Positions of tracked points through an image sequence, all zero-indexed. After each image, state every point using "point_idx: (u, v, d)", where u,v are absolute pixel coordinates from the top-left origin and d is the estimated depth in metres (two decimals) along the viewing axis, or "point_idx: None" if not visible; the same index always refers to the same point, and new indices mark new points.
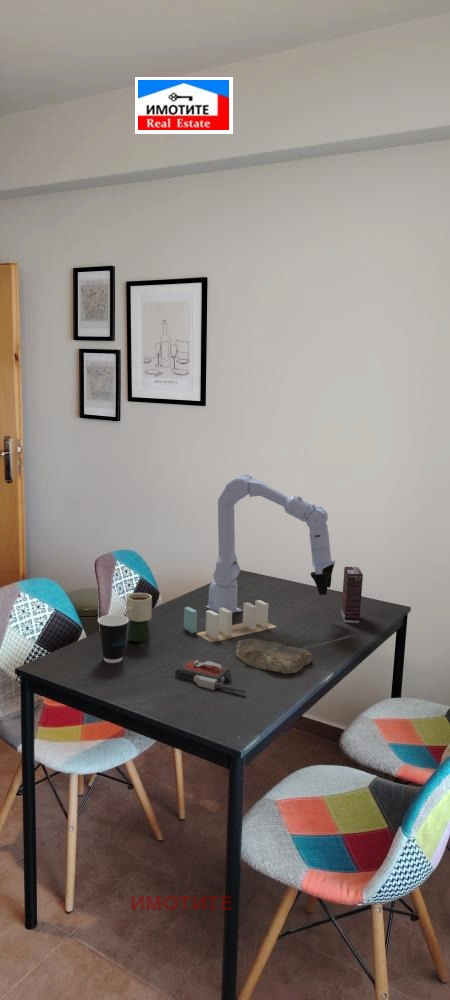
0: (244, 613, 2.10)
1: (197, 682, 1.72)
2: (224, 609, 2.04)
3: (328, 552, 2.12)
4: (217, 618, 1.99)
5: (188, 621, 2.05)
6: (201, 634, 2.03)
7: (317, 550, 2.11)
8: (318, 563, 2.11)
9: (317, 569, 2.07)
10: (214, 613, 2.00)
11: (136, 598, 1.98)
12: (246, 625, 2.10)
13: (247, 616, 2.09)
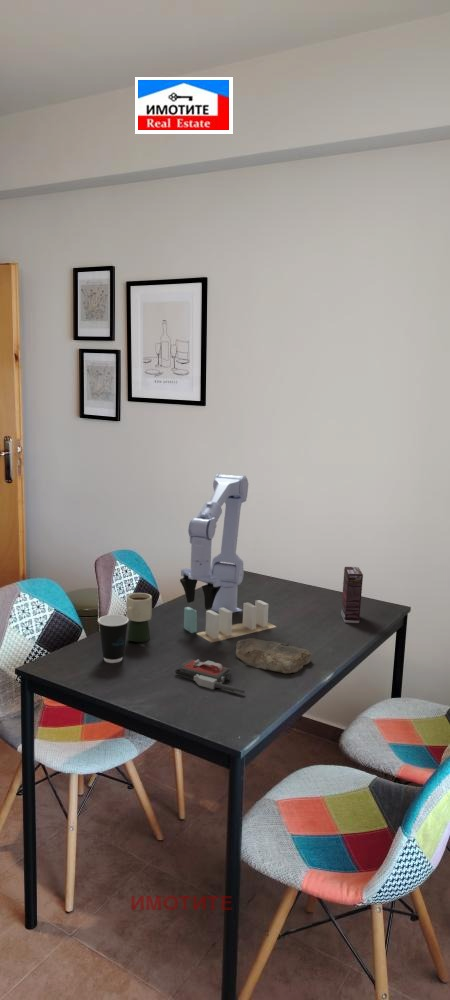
0: (244, 613, 2.10)
1: (197, 681, 1.72)
2: (224, 609, 2.04)
3: (191, 564, 2.00)
4: (217, 618, 1.99)
5: (188, 621, 2.05)
6: (201, 634, 2.03)
7: None
8: None
9: None
10: (214, 613, 2.00)
11: (136, 598, 1.98)
12: (246, 625, 2.10)
13: (247, 616, 2.09)
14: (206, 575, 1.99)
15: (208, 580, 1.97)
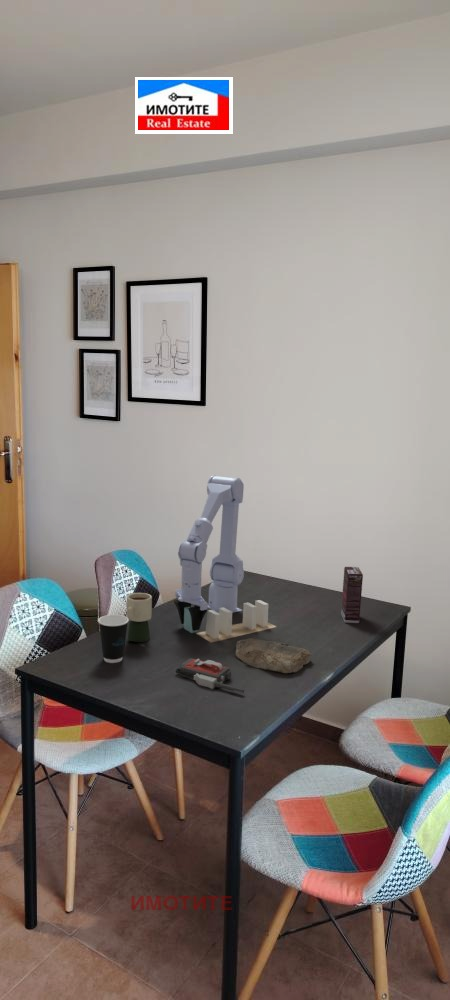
0: (244, 613, 2.10)
1: (197, 681, 1.73)
2: (224, 609, 2.04)
3: (181, 586, 2.03)
4: (218, 618, 2.00)
5: (188, 621, 2.05)
6: (201, 634, 2.03)
7: None
8: None
9: None
10: (215, 613, 2.00)
11: (136, 598, 1.98)
12: (246, 625, 2.10)
13: (247, 616, 2.09)
14: (195, 598, 2.02)
15: (195, 603, 1.99)
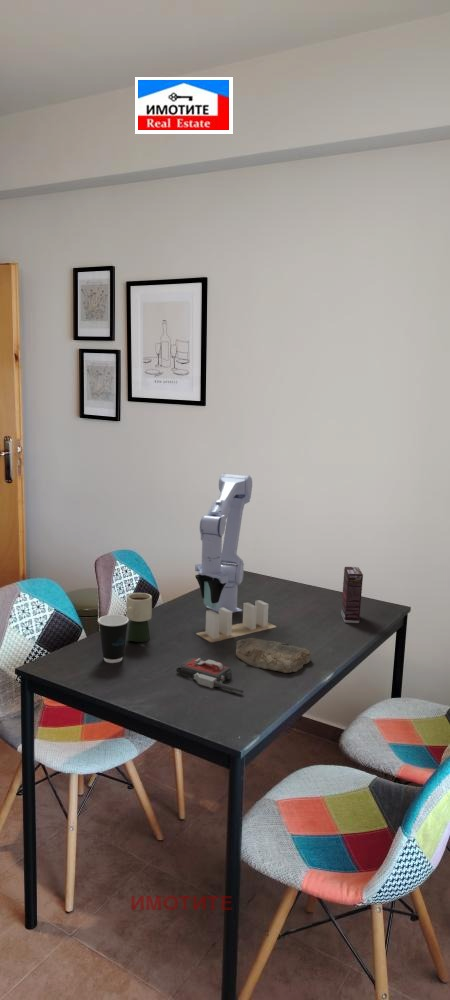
0: (244, 613, 2.10)
1: (197, 680, 1.73)
2: (224, 609, 2.04)
3: None
4: (217, 618, 1.99)
5: (208, 595, 2.07)
6: (201, 634, 2.03)
7: None
8: None
9: None
10: (214, 613, 2.00)
11: (136, 598, 1.98)
12: (246, 625, 2.10)
13: (247, 616, 2.09)
14: (215, 571, 2.04)
15: (216, 576, 2.02)
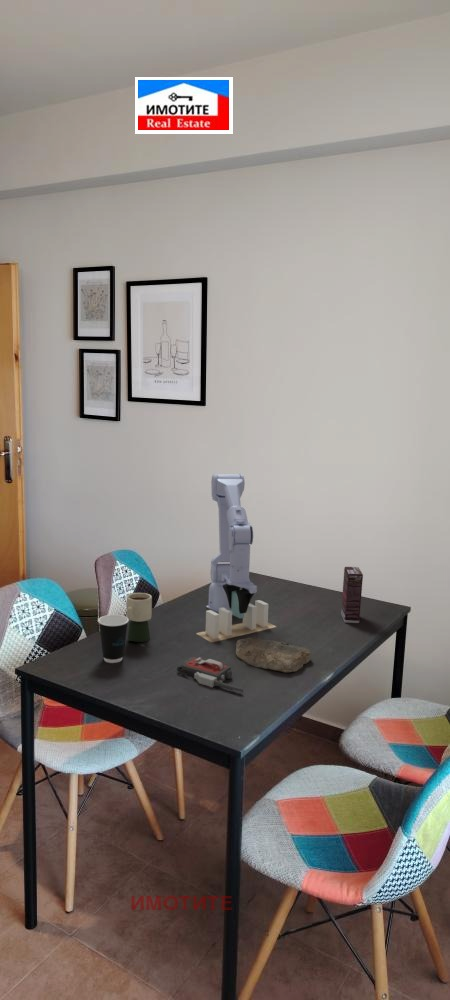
0: (244, 613, 2.10)
1: (197, 679, 1.74)
2: (224, 609, 2.04)
3: (229, 570, 2.04)
4: (217, 618, 1.99)
5: (236, 605, 2.05)
6: (201, 634, 2.03)
7: None
8: None
9: None
10: (214, 613, 2.00)
11: (136, 598, 1.98)
12: (246, 625, 2.10)
13: (247, 616, 2.09)
14: (244, 581, 2.02)
15: (245, 586, 2.00)
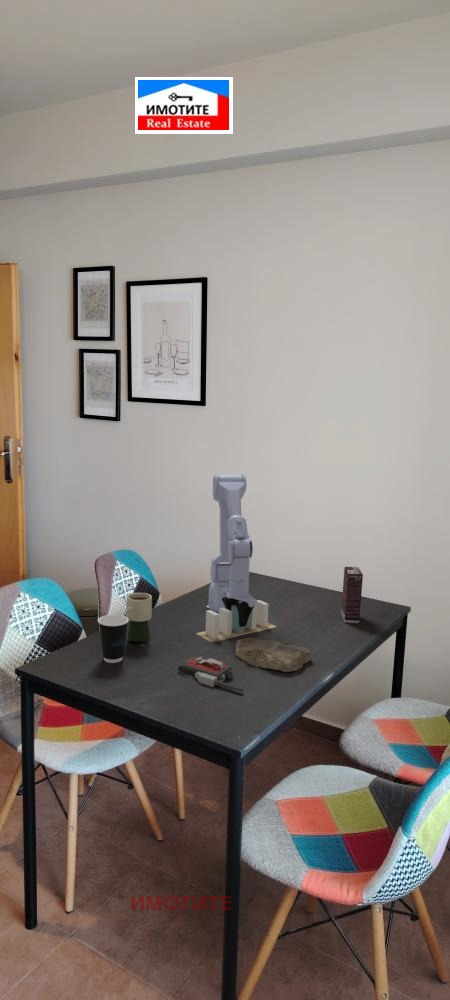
0: None
1: (198, 679, 1.74)
2: (224, 609, 2.04)
3: (229, 583, 2.04)
4: (217, 618, 1.99)
5: (236, 619, 2.06)
6: (201, 634, 2.03)
7: None
8: None
9: None
10: (214, 613, 2.00)
11: (136, 598, 1.98)
12: (246, 625, 2.10)
13: None
14: (243, 594, 2.03)
15: (244, 600, 2.01)
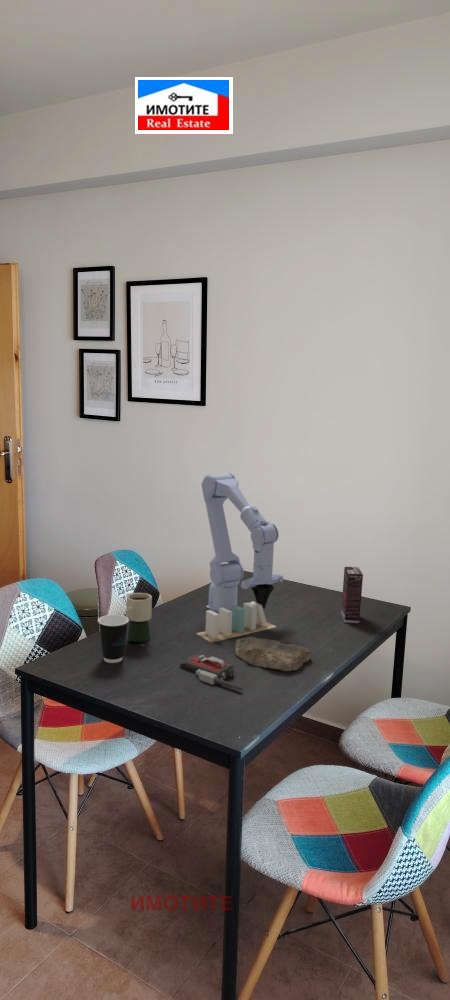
0: (244, 613, 2.10)
1: (199, 676, 1.75)
2: (224, 609, 2.04)
3: (265, 571, 2.07)
4: (217, 618, 1.99)
5: (235, 619, 2.06)
6: (201, 634, 2.03)
7: (254, 565, 2.08)
8: (253, 578, 2.09)
9: (242, 583, 2.06)
10: (214, 613, 2.00)
11: (136, 598, 1.98)
12: (246, 625, 2.10)
13: (247, 616, 2.09)
14: None
15: (278, 578, 2.12)
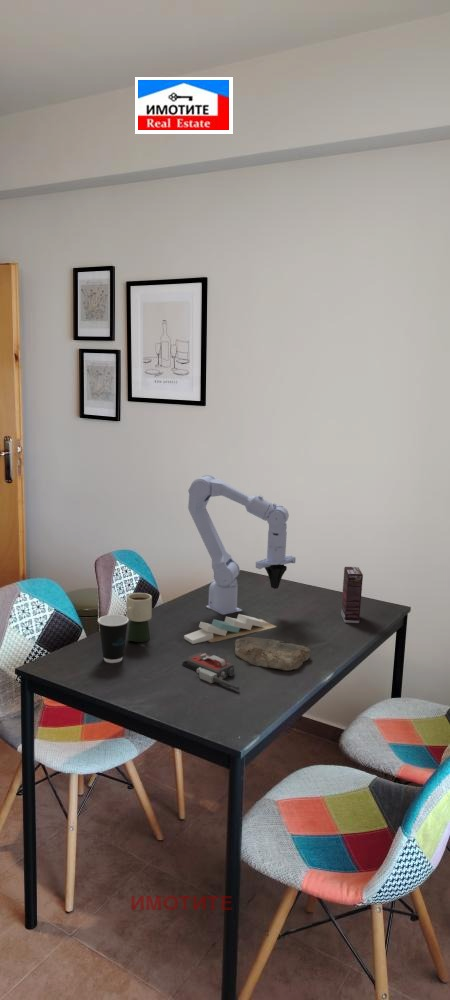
0: None
1: (199, 674, 1.77)
2: (202, 625, 2.00)
3: (278, 552, 2.15)
4: (195, 642, 1.96)
5: None
6: None
7: (268, 546, 2.16)
8: (267, 559, 2.17)
9: (257, 563, 2.15)
10: (190, 641, 1.97)
11: (136, 598, 1.98)
12: None
13: None
14: None
15: (290, 559, 2.20)
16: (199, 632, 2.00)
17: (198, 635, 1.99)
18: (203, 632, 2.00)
